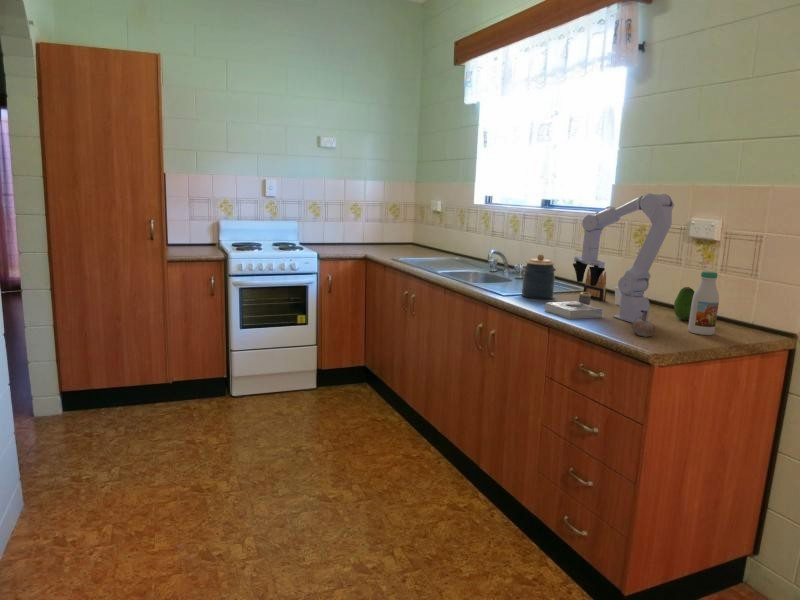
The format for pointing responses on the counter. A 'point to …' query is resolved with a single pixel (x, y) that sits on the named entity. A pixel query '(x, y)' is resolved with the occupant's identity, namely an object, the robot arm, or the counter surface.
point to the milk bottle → (704, 305)
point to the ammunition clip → (596, 287)
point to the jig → (573, 310)
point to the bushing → (585, 298)
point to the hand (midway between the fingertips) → (586, 283)
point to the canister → (538, 278)
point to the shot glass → (617, 295)
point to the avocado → (684, 303)
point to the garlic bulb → (643, 326)
